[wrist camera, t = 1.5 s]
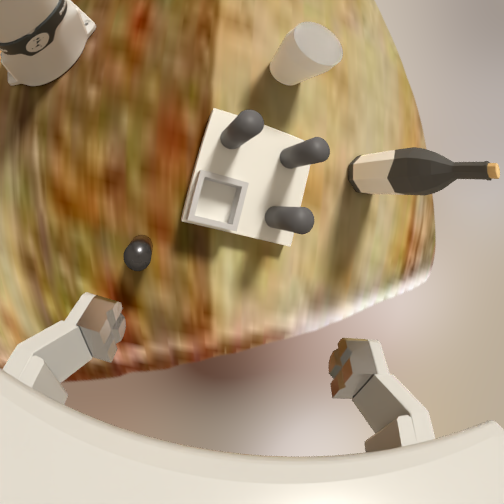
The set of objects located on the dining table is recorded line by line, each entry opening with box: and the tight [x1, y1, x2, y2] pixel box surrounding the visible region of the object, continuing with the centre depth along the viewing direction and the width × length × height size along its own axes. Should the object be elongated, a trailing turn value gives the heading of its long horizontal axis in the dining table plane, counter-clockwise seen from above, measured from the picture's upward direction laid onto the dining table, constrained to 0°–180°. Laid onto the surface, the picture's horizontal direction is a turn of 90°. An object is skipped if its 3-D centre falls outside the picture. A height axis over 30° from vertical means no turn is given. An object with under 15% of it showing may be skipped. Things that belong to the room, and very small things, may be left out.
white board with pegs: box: [181, 108, 330, 246], centre depth 38 cm, size 18×18×12 cm
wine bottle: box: [349, 147, 500, 195], centre depth 37 cm, size 8×8×30 cm
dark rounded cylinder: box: [124, 235, 153, 271], centre depth 36 cm, size 4×4×9 cm
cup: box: [270, 22, 343, 85], centre depth 37 cm, size 9×9×12 cm
